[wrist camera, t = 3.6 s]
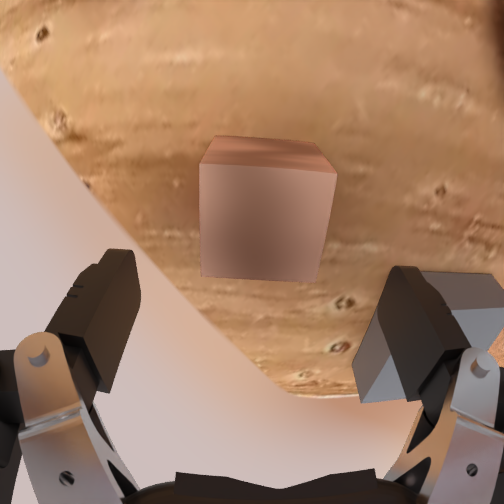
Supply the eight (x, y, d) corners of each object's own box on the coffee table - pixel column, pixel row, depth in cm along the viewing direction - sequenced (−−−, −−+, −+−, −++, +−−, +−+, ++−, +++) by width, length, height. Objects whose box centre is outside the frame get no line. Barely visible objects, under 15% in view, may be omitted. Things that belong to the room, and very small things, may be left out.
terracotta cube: (314, 142, 15) (337, 173, 11) (301, 228, 18) (315, 282, 14) (215, 135, 15) (199, 163, 11) (213, 222, 18) (200, 276, 14)
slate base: (491, 274, 20) (516, 306, 16) (443, 357, 25) (457, 389, 22) (391, 269, 19) (412, 311, 16) (351, 364, 25) (360, 403, 21)
